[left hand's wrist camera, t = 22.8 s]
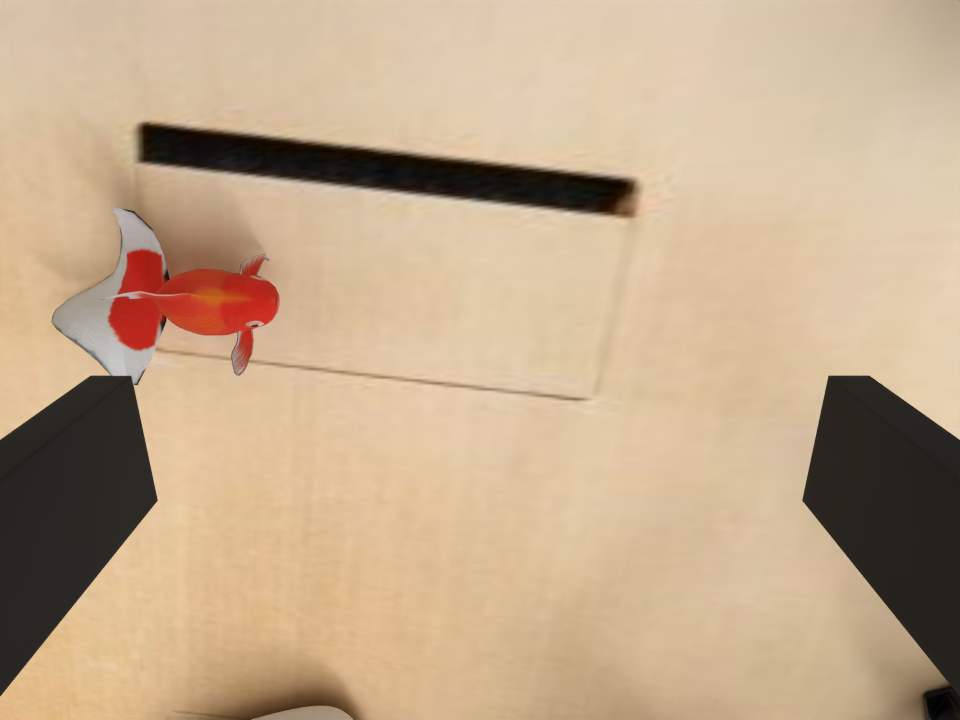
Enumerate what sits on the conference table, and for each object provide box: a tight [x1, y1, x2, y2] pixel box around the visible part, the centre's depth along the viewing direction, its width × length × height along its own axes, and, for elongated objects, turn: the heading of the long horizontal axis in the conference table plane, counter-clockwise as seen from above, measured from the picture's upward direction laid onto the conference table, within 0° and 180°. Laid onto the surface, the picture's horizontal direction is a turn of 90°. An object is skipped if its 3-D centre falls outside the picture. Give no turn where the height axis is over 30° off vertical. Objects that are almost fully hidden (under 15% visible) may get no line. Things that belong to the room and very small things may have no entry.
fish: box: [52, 207, 280, 385], centre depth 42 cm, size 11×16×10 cm
